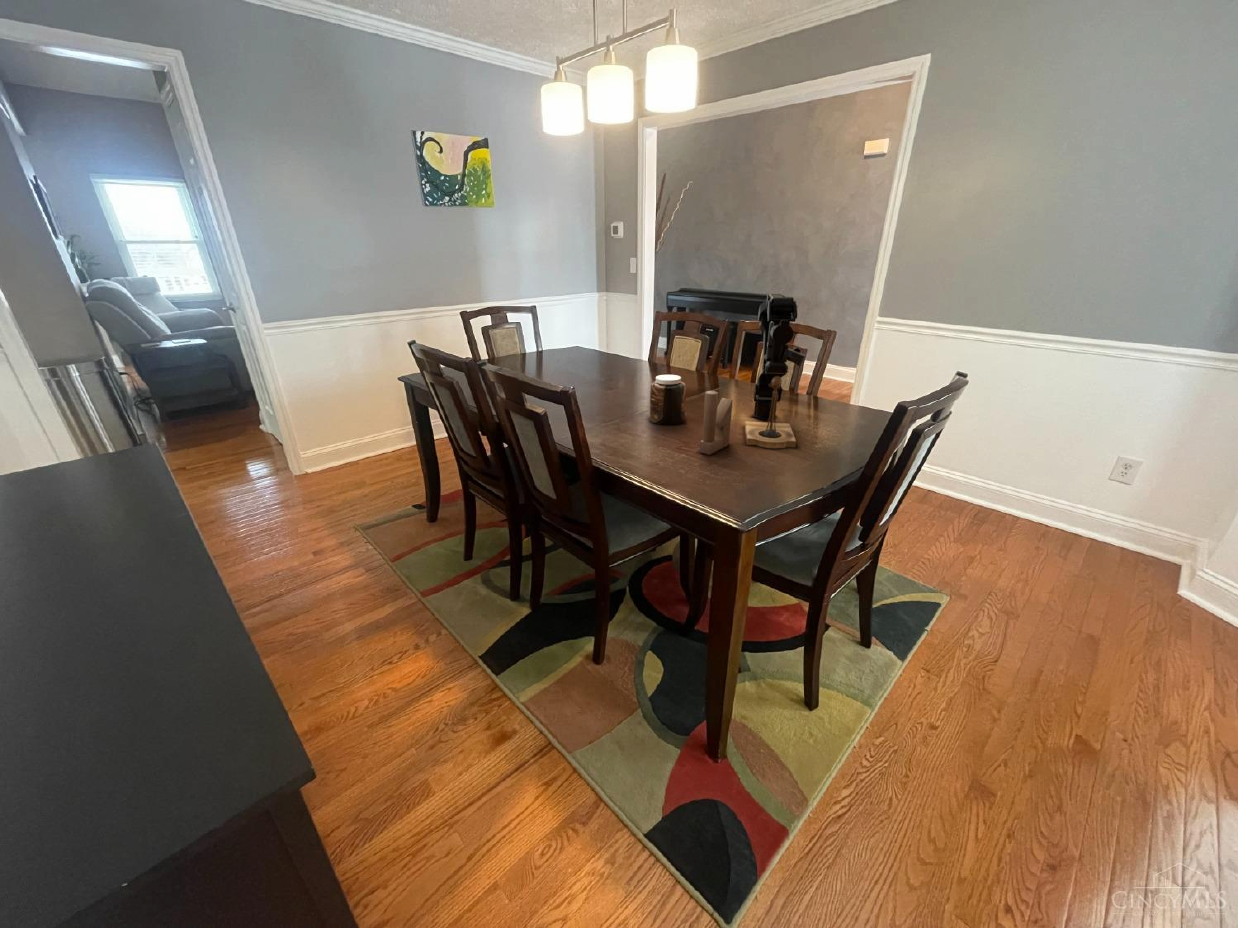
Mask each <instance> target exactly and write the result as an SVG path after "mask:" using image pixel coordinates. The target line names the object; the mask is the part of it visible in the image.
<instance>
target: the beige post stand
mask: <svg viewBox="0 0 1238 928" xmlns="http://www.w3.org/2000/svg"><path fill="white" fill-rule="evenodd" d="M718 401H719V392H718V391H715V390H707V391H705V393H704V407H703V408H704V409H703V422H702V437H701V438H702V440H700V442H699V453H702V454H705V455H708V456H711V455H712V454H714V453H716V452H718V451H719V450H722V449H724V448H725V447H727V446H729V444H730V434H731V433H730V432H731V423H732V411H733V399H729V398H724V397H722V398H721V399H720V401H719V402H718Z"/></svg>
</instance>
